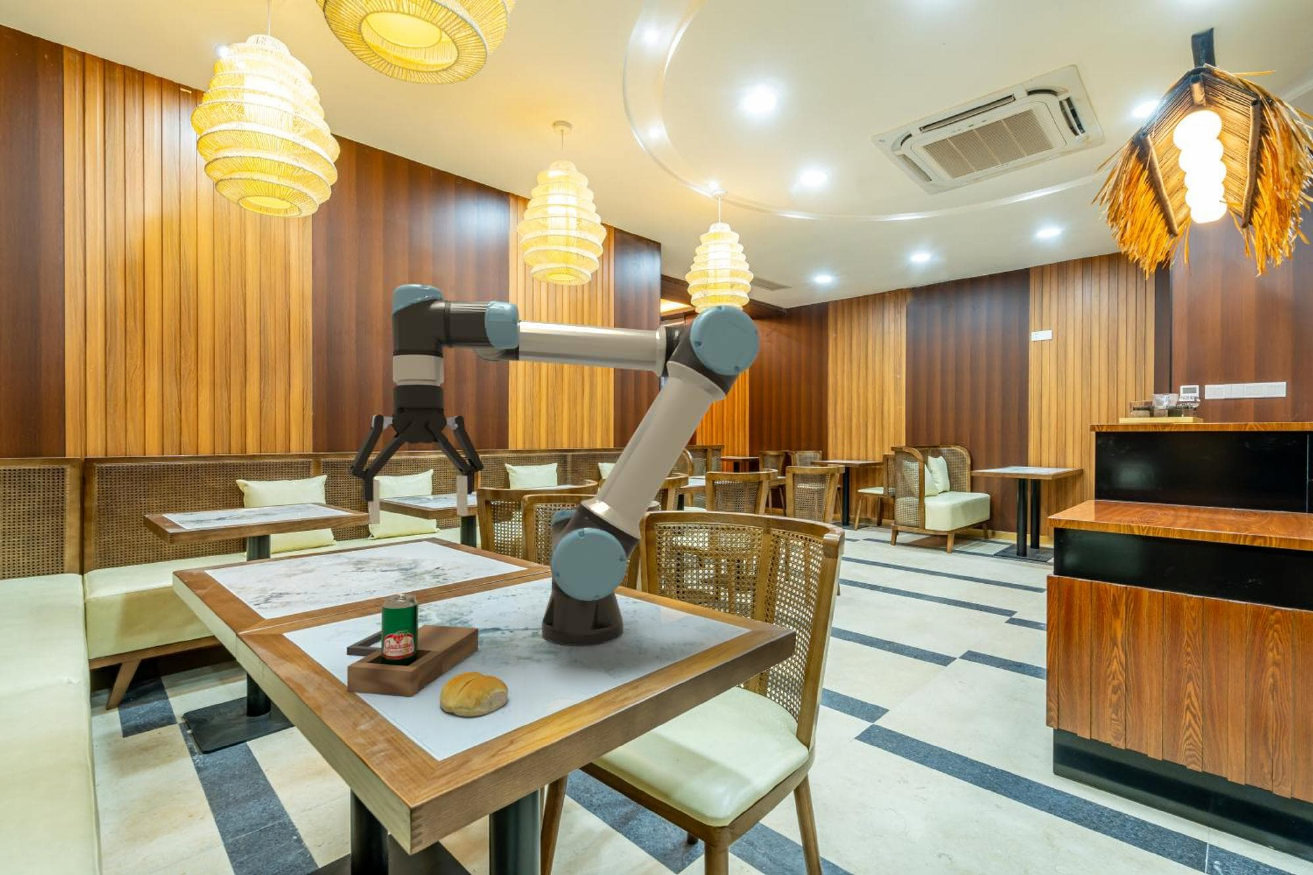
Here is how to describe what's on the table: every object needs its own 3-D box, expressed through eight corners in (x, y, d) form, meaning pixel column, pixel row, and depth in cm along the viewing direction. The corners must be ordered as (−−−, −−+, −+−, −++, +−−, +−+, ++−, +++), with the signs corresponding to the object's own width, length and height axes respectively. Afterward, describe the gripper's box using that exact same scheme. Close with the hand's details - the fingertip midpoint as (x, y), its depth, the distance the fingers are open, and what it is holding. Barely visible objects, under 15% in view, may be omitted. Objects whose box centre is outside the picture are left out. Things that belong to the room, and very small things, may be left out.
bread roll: (473, 687, 88) (473, 659, 88) (517, 701, 84) (517, 672, 84) (424, 707, 81) (425, 678, 81) (470, 725, 77) (470, 693, 77)
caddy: (478, 648, 104) (478, 628, 104) (411, 696, 84) (411, 671, 84) (424, 644, 106) (425, 624, 106) (347, 690, 86) (347, 666, 86)
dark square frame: (425, 640, 108) (426, 633, 108) (395, 658, 99) (395, 651, 99) (380, 637, 110) (380, 630, 110) (346, 654, 101) (346, 647, 101)
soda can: (378, 686, 87) (379, 603, 87) (382, 673, 92) (383, 594, 92) (416, 682, 89) (417, 600, 89) (418, 669, 93) (419, 592, 93)
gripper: (483, 390, 107) (485, 510, 107) (325, 383, 91) (327, 524, 91) (502, 386, 101) (504, 513, 101) (337, 378, 85) (339, 529, 85)
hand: (420, 519), depth 96 cm, fingers open, 13 cm apart
